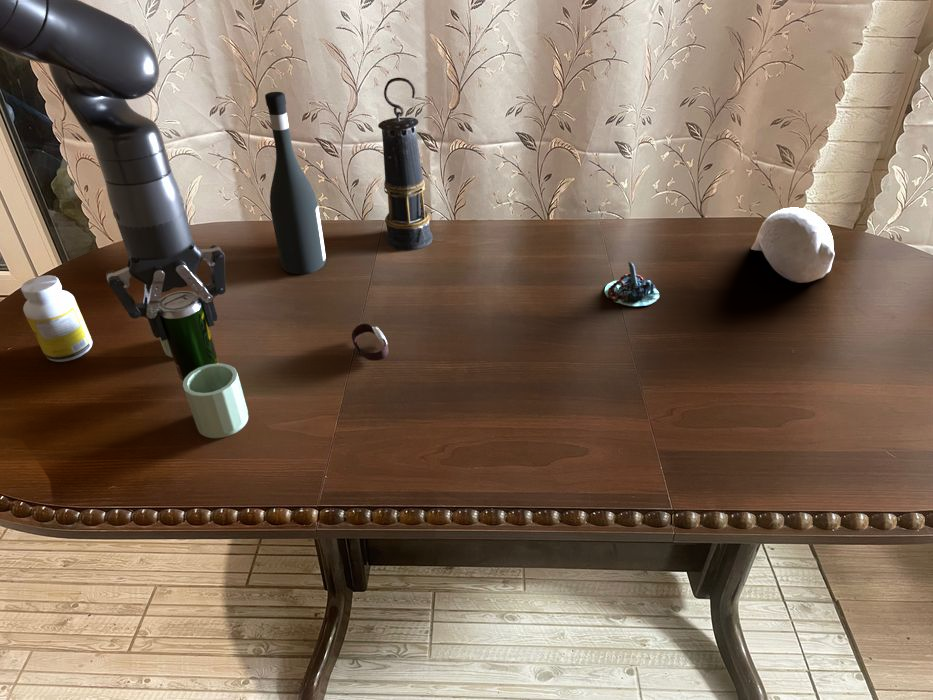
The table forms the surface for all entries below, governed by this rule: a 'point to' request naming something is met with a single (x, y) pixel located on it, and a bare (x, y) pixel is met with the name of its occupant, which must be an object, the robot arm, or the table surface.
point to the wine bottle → (293, 200)
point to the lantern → (404, 181)
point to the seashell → (796, 244)
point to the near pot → (216, 400)
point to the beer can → (187, 331)
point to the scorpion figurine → (632, 290)
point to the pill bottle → (55, 319)
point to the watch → (379, 335)
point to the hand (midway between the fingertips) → (186, 330)
